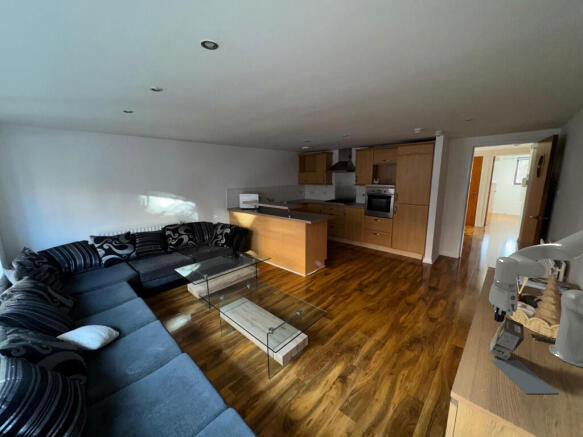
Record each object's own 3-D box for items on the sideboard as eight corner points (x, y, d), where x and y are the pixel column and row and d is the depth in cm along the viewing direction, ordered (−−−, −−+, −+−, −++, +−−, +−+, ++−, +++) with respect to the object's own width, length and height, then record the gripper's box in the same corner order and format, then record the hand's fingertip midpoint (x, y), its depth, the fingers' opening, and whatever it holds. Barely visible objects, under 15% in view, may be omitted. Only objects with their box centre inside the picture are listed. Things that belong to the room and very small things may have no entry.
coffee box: (507, 361, 102) (524, 340, 94) (489, 352, 106) (504, 331, 98) (507, 345, 108) (523, 324, 100) (490, 337, 112) (505, 316, 104)
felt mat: (518, 360, 103) (518, 360, 103) (558, 393, 87) (558, 393, 87) (491, 360, 103) (491, 360, 103) (526, 394, 87) (526, 393, 87)
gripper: (529, 292, 96) (522, 331, 99) (498, 277, 111) (493, 311, 114) (511, 292, 96) (505, 331, 99) (482, 277, 111) (478, 311, 114)
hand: (498, 320), depth 107 cm, fingers closed
